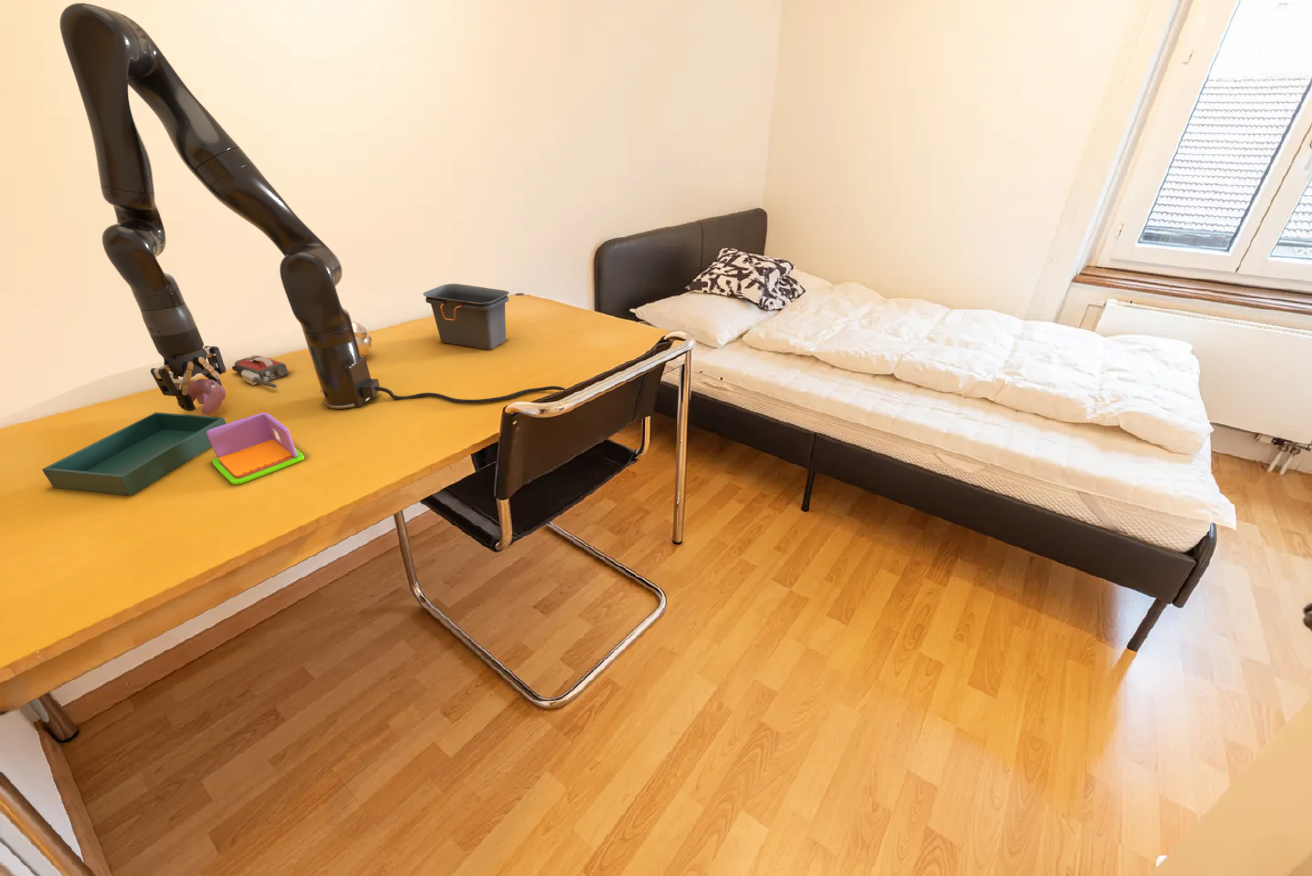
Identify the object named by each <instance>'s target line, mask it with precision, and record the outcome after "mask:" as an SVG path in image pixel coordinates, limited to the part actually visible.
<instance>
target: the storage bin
mask: <svg viewBox="0 0 1312 876" xmlns="http://www.w3.org/2000/svg"><path fill="white" fill-rule="evenodd" d="M422 295H423V297H425V303H427V304H430V306H431V310H432V314H433V317H434V321H435V324H436V328H437V332H438V335H439V338H440V342H442V343H445V344H451V345H456V346H464V347H470V348H475V349H480V350H481V349H483V350H486V351H487V350H488V351H489V350H492V349H494V348H496V347H497V346H499V345H501V344H502V343H504V342H505V341H506V340H507V326H506V325H507V324H506V303H508V302H509V301H510V299H509V298H510V297H509V296H508V295H510V291H508V290H505V289H504V290H503V289H497V288H490V287H483V286H476V285H471V284H470V285H468V284H461V283H447V284H442V285H440V286H437V287H434V288H432V289H429V290H426V291H424V292H423V293H422Z"/></svg>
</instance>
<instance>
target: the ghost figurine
mask: <svg viewBox="0 0 1312 876" xmlns="http://www.w3.org/2000/svg"><path fill="white" fill-rule="evenodd" d="M351 322H352V326H353V330H354V333H355V337H356V341H357V345H358V348H359V352H360V355H361V357H365V356H366V355H367V354H368V353H369V349H371V348H372V342H373V338H372V336H371V335H370V334H369V333H368V330H367V328H366V327H365V326H364V325H362V324H361V323H359V322H356V321H351Z"/></svg>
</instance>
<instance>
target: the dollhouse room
mask: <svg viewBox="0 0 1312 876" xmlns="http://www.w3.org/2000/svg"><path fill="white" fill-rule="evenodd" d="M207 436H208V439H209V441H210V443H211V448H212V450H213V452H214V454H215V456H216V457H215V458H213V459H212V461H211V463H212V465H213V466H214V467H215V468H216V470H218V472H219V473H220V474H221V475H222V476H223V477H224V478H225V479H226V480H227V481H228V482H229V483H230V484H232V485H233V486H238V485H241V484H244V483H247V482H249V481H253V480H254V479H255V480H256V479H258V478H260V477H262V476H265V475H269V474H271V473H273V472H275V471H279V470H281V469H284V468H287V467H288V466H291V465H294V464H296V463H299V462H302V461H304V459H305V456H304V454H303V453H302V452H301V451H300V450H299V449H297V448H296V447H295V443H294V441H293V439H292V437H291V433H290V430H289V428H288V427H287V426H285V425H284V424H283V423H281V422H280V421H279V420H277V419H276V417H274V416H273V415H271V414H269V412H259V413H257V414H253V415H250V416H247V417H244V418H240V419H238V420H234V421H231V422H227V423H226V424H224V425H221V426H218V427H215V428H212V429H210V430H208V431H207Z"/></svg>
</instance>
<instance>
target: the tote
mask: <svg viewBox="0 0 1312 876" xmlns="http://www.w3.org/2000/svg"><path fill="white" fill-rule="evenodd" d="M224 424H227V422H226V419H225V418H224V417H219V416H209V415H195V414H184V413H171V412H170V413H169V412H159V411H155V412H153V413H151V414H149V415H147V416H145V417H143V418H141V419H139V420H136V421H135V422H134V423H131V424H129V425H128V426H125V427H123V428H121V429H119V430H117V431H115V432H113V433H111V434H109V435H108V436H105V437H103V438H101V439H99V440H97V441H95V442H93V443H92V444H89V445H87V446H85V447H83V448H81V449H79V450H77V451H75V452H74V453H71V454H70V455H68V456H65V457H63V458H61V459H59V460H57V461H56V462H53V463H51V464H50V465H48V466H45V467H43V468H42V469H41V471H42V473H43V474H44V475H45V477H46V478H47V480H48V481H49V483H50V484H51V487H52V488H53V489H62V490H73V491H81V492H90V493H100V494H112V495H121V496H130V497H132V496H133V495H135V494H136V493H138V492H140V491H142V490H143V489H145V488H146V487H148V486H150V485H151V484H153V483H154V482H157V481H158V480H160V479H161V478H163V477H164V476H166V475H168V474H169V473H171V472H172V471H174V470H175V469H177V468H180V466H182V465H184V464H185V463H187V462H188V461H190V460H192V459H193V458H195V457H197V456H198V455H200V454H202V453H204V452H205V451H207V449H210V448H212V446H211V443H210V441H209V439H208V436H207V431H208V430H210V429H212V428H215V427H218V426H221V425H224Z"/></svg>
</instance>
